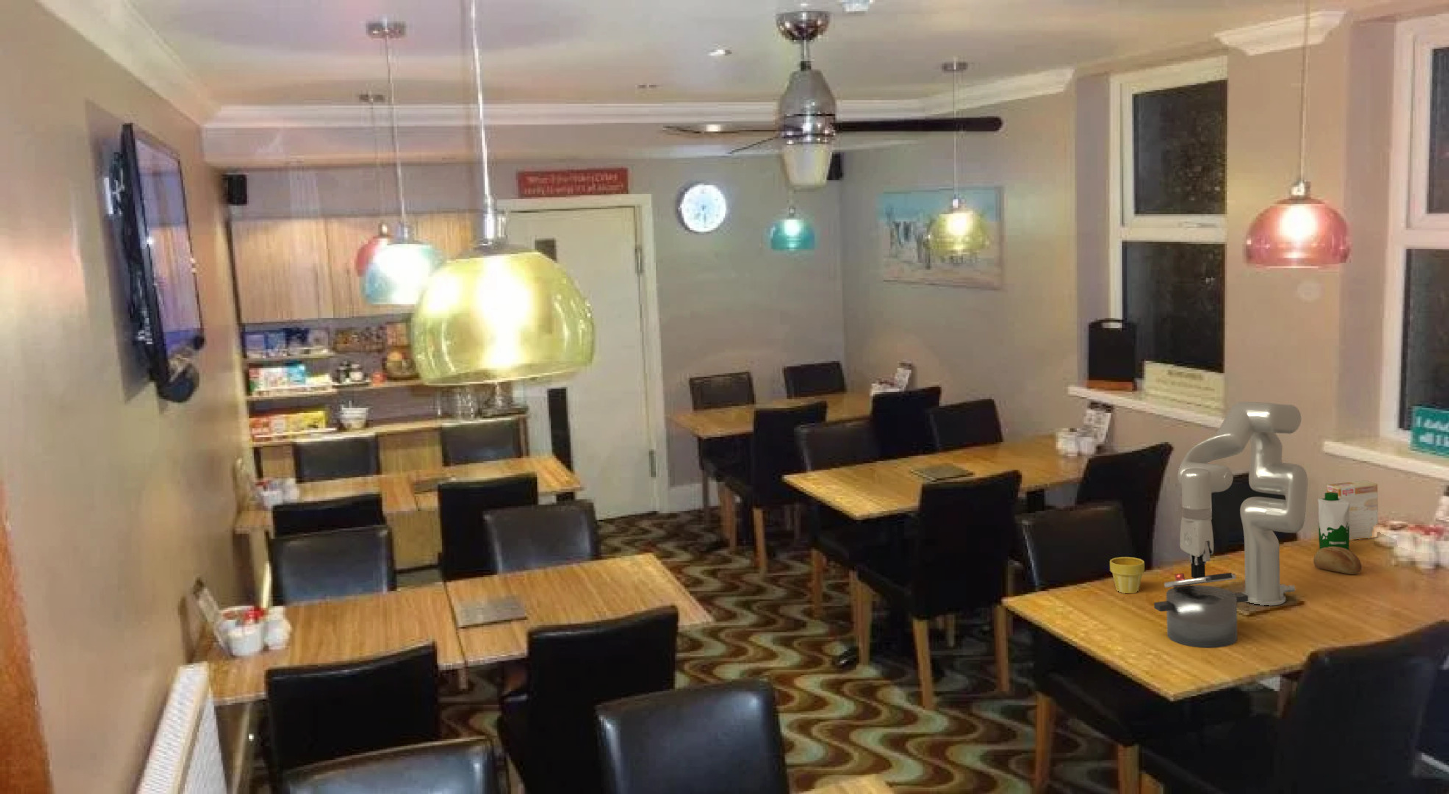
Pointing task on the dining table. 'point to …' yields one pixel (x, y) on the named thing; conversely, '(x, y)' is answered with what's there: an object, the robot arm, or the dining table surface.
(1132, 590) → the plant pot
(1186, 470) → the robot arm
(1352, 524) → the coffeecake box
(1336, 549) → the bread roll
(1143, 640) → the dining table surface
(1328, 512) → the milk carton
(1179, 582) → the cooker lid
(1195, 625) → the pressure cooker
